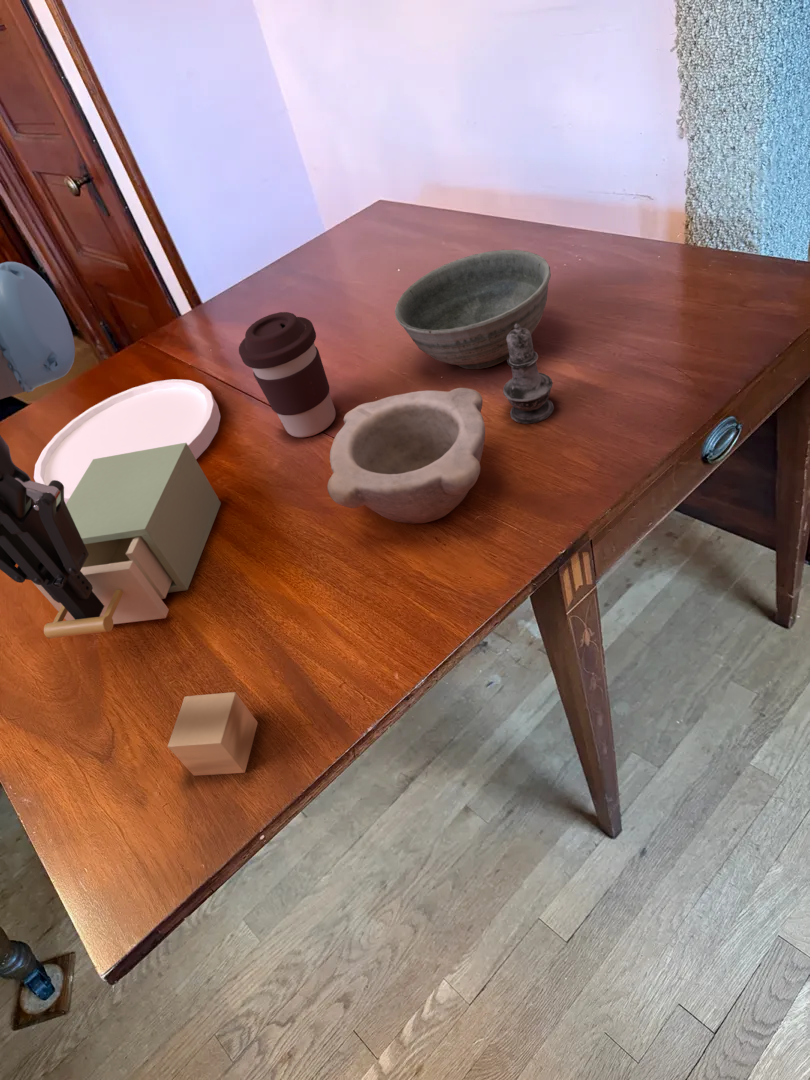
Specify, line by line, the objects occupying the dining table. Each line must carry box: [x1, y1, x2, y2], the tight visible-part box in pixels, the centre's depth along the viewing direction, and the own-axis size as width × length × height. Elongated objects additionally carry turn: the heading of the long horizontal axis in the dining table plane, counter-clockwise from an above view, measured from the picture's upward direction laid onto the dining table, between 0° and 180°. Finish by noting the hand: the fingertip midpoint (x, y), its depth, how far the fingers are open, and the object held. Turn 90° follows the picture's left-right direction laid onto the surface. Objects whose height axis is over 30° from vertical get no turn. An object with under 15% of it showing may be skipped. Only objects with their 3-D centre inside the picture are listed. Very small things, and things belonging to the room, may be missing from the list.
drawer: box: [33, 536, 173, 639], centre depth 82 cm, size 19×12×8 cm, turn 174°
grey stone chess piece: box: [502, 323, 555, 425], centre depth 87 cm, size 6×6×12 cm
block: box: [167, 691, 258, 777], centre depth 65 cm, size 5×5×5 cm
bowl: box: [394, 249, 552, 370], centre depth 101 cm, size 21×21×10 cm
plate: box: [33, 378, 221, 504], centre depth 110 cm, size 28×28×2 cm
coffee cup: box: [238, 311, 336, 438], centre depth 98 cm, size 10×10×15 cm
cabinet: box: [66, 443, 222, 594], centre depth 88 cm, size 15×13×10 cm
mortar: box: [326, 387, 486, 525], centre depth 82 cm, size 17×17×9 cm
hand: (93, 616), depth 78 cm, fingers closed
